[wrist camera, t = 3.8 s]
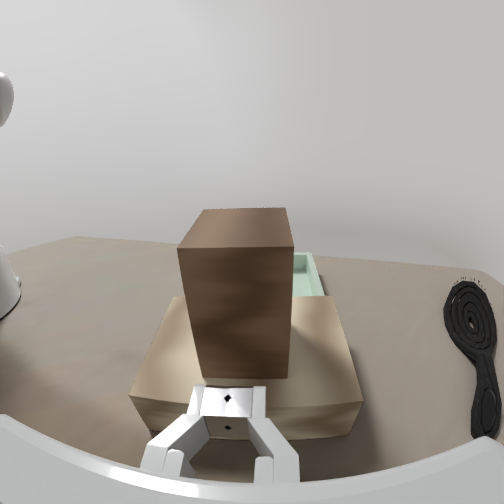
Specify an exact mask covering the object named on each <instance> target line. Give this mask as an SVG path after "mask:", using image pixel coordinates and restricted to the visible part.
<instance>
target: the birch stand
mask: <svg viewBox="0 0 504 504" xmlns="http://www.w3.org/2000/svg"><path fill="white" fill-rule="evenodd" d="M195 384H203V385H216V386H266V418H269V419H270V420H271V421H272V423H273V424H274V425H275V426H276V428H277V429H278V430H279V432H280V433H281V434H282V435H283V437H284V438H285V439H286V440H300V439H315V438H326V437H336V436H344V435H348V434H349V432H350V430H351V428H352V426H353V424H354V422H355V419H356V417H357V415H358V413H359V410H360V408H361V406H362V403H363V401H364V400H363V397H362V393H361V389H360V386H359V382H358V378H357V375H356V371H355V368H354V365H353V361H352V358H351V354H350V351H349V348H348V345H347V341H346V338H345V335H344V332H343V329H342V325H341V322H340V319H339V316H338V313H337V310H336V307H335V304H334V301H333V298H332V295H329V296H296V297H292V314H291V333H290V349H289V364H288V378H287V379H228V378H208V377H202V374H201V370H200V365H199V361H198V357H197V352H196V348H195V343H194V339H193V334H192V329H191V325H190V320H189V315H188V310H187V304H186V299H185V297H182V296H174V297H173V299H172V301H171V303H170V305H169V307H168V309H167V311H166V313H165V315H164V318H163V320H162V322H161V324H160V326H159V328H158V330H157V332H156V335H155V337H154V339H153V341H152V343H151V345H150V348H149V350H148V352H147V354H146V356H145V359H144V361H143V363H142V365H141V368H140V370H139V372H138V374H137V377H136V379H135V381H134V384H133V386H132V388H131V391H130V393H129V397H130V398H131V400H132V402H133V404H134V406H135V407H136V409H137V411H138V413H139V414H140V416H141V418H142V419H143V421H144V423H145V424H146V426H147V428H148V429H149V430H154V431H159V432H162V431H163V430H165V429H166V428H167V427H168V426H169V425H171V424H172V423H173V422H174V421H175V420H177V419H178V418H179V417H180V416H181V415H182V414H187V410H188V406H189V402H190V398H191V394H192V390H193V387H194V385H195ZM210 438H216V439H230V440H250V439H245V438H229V437H210Z"/></svg>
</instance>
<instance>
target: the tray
mask: <svg viewBox="0 0 504 504" xmlns="http://www.w3.org/2000/svg"><path fill="white" fill-rule="evenodd" d="M296 296H325V295H324V292H323V288H322V285H321V282H320V279H319V275H318V272H317V269H316V266H315V263H314V260H313V257H312V254H311V252H305V253H294V265H293V292H292V297H296ZM184 297H185V295H184Z"/></svg>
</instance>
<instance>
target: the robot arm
mask: <svg viewBox="0 0 504 504" xmlns="http://www.w3.org/2000/svg"><path fill="white" fill-rule="evenodd" d="M13 99H14V92H13V87H12V84H11V81H10V80H9V78H8V77H7V76H6V75H5V74H4V73H2V72H0V127H1V126H3V125H4V123H5V122H6V120H7V118H8V116H9V114H10V112H11V109H12V105H13ZM20 283H21V280H20V278H19V277H18V276H15V275H14V273H13V271H12V269H11V266H10V264H9V262H8V259H7V257H6V254H5V252H4V250H3V248H2V246H0V318H2V317H3V316H4V315H5V314H7V313H8V312H9V311H10V310H11V309H12V308H13V307H14V305H15V304H16V303H17V301H18V300H19V298H20V295H21V291H20V288H19V286H20ZM210 437H229V438H245V439H250V440H251V442H252V444H253V445H254V447H255V448H256V450H257V452H258V453H259V455H260V456H261V457H258V458H256V459H255V472H254V483H237V482H222V481H211V480H202V479H195V478H196V473H195V471H194V470H193V468H192V466H191V465H190V463H189V461H190V460H191V459H192V458H193V457H194V456H195V455H196V453H197V452H198V451H199V450H200V449H201V448H202V447H203V446H204V445H205V443H206V442H207V441H208V440H209V439H210ZM0 504H504V445H502V444H501V443H499V442H497V441H495V440H493V439H492V438H490V437H487V436H482V437H479V438H476V439H474V440H472V441H470V442H468V443H465V444H463V445H461V446H458V447H456V448H453V449H451V450H448V451H445V452H443V453H440V454H437V455H434V456H431V457H428V458H425V459H422V460H419V461H416V462H412V463H409V464H405V465H402V466H398V467H394V468H390V469H386V470H381V471H377V472H372V473H367V474H362V475H356V476H350V477H344V478H337V479H329V480H320V481H309V482H300V473H299V455H298V454H297V452H296V451H295V450H294V449H293V448H292V446H291V445H290V444H289V443H288V442H287V440H286V439H285V438H284V437H283V435H282V434H281V433H280V432H279V430H278V429H277V428H276V426H275V425H274V424H273V423H272V421H271V420H270V419H269V418H266V386H216V385H203V384H195V385H194V387H193V390H192V394H191V398H190V402H189V406H188V410H187V414H182V415H181V416H180V417H179V418H178V419H177V420H175V421H174V422H173V423H172V424H171V425H169V426H168V427H167V428H166V429H165V430H163V431H162V432H161V433H160V434H159V435H157V436H156V437H155V438H154V439H152V440H151V441H150V442H149V443H148V444H147V446H146V449H145V452H144V455H143V458H142V462H141V465H140V468H137V467H133V466H129V465H125V464H122V463H118V462H115V461H111V460H108V459H105V458H102V457H99V456H96V455H93V454H90V453H87V452H84V451H82V450H79V449H76V448H74V447H71V446H69V445H66V444H64V443H62V442H59V441H57V440H55V439H52V438H50V437H48V436H46V435H44V434H42V433H40V432H38V431H36V430H34V429H32V428H30V427H28V426H26V425H24V424H22V423H20V422H18V421H16V420H15V419H13V418H11V417H10V416H8V415H5V414H1V415H0Z"/></svg>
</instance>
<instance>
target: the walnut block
mask: <svg viewBox="0 0 504 504" xmlns="http://www.w3.org/2000/svg"><path fill="white" fill-rule="evenodd" d="M177 252H178V259H179V265H180V271H181V277H182V282H183V288H184V294H185V299H186V304H187V310H188V315H189V320H190V325H191V329H192V334H193V339H194V343H195V348H196V352H197V357H198V361H199V365H200V370H201V374H202V377H208V378H228V379H287V378H288V364H289V349H290V333H291V314H292V292H293V265H294V244H293V240H292V235H291V231H290V226H289V222H288V218H287V214H286V209H285V208H240V209H211V210H203V211H202V213H201V214H200V215H199V217H198V218H197V220H196V221H195V223H194V224H193V226H192V227H191V229H190V230H189V231H188V233H187V234H186V236H185V237H184V239H183V240H182V242H181V243H180V244H179V246H178V247H177Z"/></svg>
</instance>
